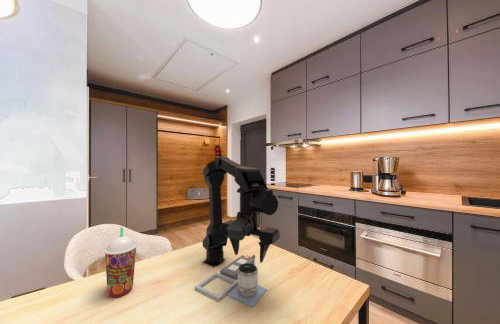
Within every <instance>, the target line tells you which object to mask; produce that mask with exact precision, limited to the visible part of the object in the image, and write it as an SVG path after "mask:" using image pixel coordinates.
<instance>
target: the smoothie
mask: <svg viewBox="0 0 500 324" xmlns="http://www.w3.org/2000/svg"><path fill="white" fill-rule="evenodd" d="M119 233H120V234H119V235H118V236H117V237H114V238H113V239H112V240H111V241H110V242H109V243H108V245H107V247H106V249H105V250H104V252H105V254H104V257H105V258H104V259H105V273H106V289H107V290H106V292H107V293H108V295H109V296H110V297H112V298H119V297H122V296H124V295H126V294H128V293H129V292H130V291H131V290H132V287H133V285H134V279H135V266H136V265H135V264H136V255H137V246H138V245H137V243H136V242H135V240H134V239H133V238H132V237H131V236H128V235H125V234H124V227H122V226H121V227H120V232H119Z"/></svg>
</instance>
